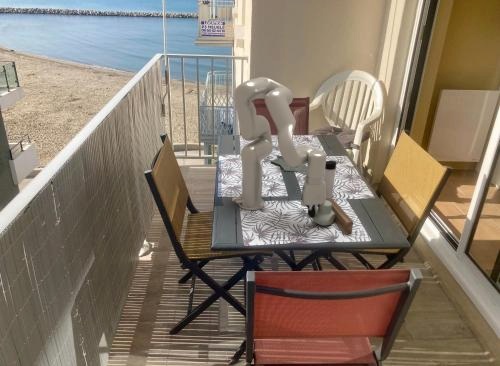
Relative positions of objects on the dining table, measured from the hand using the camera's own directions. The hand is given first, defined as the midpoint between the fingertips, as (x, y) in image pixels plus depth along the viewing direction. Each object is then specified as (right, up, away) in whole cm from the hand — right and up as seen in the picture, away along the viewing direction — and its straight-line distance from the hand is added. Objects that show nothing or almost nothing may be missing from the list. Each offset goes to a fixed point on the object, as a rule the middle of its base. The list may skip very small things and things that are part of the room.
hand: (311, 216), depth 185 cm
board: (+13, -3, +5) cm, 14 cm away
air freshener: (+6, -3, +4) cm, 8 cm away
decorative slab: (-2, +24, +62) cm, 67 cm away
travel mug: (+11, +7, +26) cm, 29 cm away
